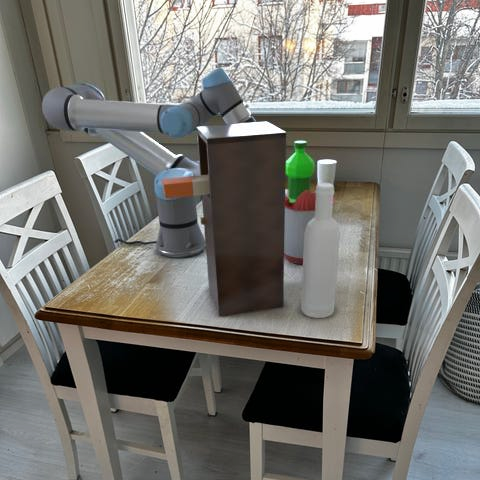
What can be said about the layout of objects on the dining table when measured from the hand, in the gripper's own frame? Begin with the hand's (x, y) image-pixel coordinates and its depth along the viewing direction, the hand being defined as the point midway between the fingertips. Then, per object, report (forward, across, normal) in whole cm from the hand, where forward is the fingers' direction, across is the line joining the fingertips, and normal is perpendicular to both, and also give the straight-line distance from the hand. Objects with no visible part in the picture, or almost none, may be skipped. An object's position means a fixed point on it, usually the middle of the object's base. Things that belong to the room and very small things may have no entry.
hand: (280, 186), depth 141 cm
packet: (-12, -42, +8) cm, 45 cm away
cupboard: (+14, -37, +18) cm, 44 cm away
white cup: (+18, +62, -10) cm, 66 cm away
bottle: (+24, -42, +3) cm, 49 cm away
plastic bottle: (+15, +27, +3) cm, 31 cm away
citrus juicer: (+20, -11, +4) cm, 23 cm away
